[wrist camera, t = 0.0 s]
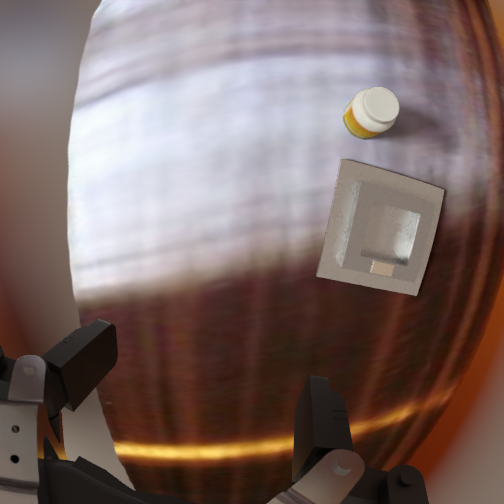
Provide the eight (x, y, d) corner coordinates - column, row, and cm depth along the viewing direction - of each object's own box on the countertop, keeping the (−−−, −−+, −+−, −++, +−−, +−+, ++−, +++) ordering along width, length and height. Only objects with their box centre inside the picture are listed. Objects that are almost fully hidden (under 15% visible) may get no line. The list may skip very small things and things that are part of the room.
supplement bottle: (346, 97, 33) (363, 73, 23) (382, 110, 32) (408, 91, 23) (338, 132, 34) (353, 116, 25) (374, 145, 34) (400, 135, 24)
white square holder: (340, 159, 35) (345, 156, 31) (441, 189, 34) (453, 190, 30) (315, 273, 39) (318, 283, 35) (414, 293, 38) (423, 302, 34)
